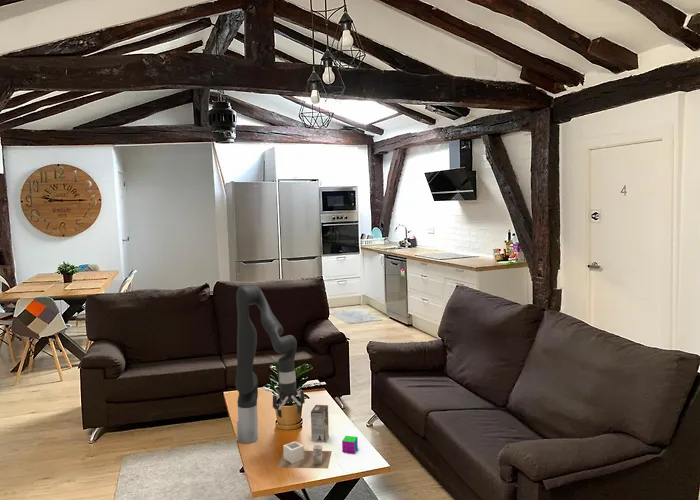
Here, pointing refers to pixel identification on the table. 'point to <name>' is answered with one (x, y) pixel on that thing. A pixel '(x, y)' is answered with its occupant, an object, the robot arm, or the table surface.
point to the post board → (309, 459)
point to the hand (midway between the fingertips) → (289, 415)
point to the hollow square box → (293, 452)
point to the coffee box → (319, 423)
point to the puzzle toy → (349, 444)
